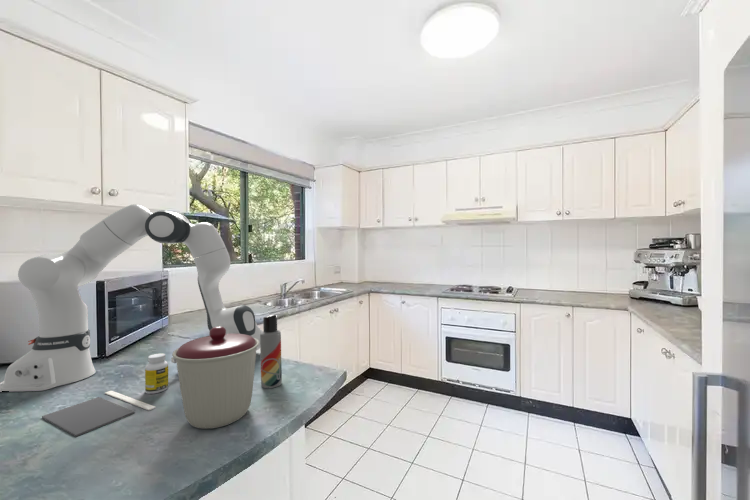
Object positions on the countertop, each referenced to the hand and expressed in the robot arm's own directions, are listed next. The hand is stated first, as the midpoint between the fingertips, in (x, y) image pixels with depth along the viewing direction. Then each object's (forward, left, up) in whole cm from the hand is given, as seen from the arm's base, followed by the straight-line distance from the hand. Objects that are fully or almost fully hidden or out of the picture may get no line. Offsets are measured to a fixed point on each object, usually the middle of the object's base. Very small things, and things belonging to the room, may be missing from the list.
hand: (182, 362), depth 97 cm
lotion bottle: (+27, -10, -6) cm, 29 cm away
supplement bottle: (-5, -6, -6) cm, 9 cm away
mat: (-14, -18, -5) cm, 23 cm away
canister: (+17, -26, -6) cm, 32 cm away
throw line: (-9, -11, -5) cm, 15 cm away
